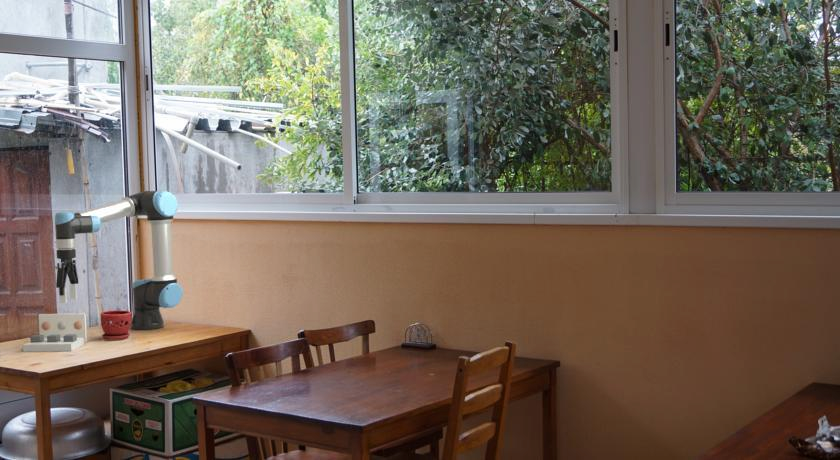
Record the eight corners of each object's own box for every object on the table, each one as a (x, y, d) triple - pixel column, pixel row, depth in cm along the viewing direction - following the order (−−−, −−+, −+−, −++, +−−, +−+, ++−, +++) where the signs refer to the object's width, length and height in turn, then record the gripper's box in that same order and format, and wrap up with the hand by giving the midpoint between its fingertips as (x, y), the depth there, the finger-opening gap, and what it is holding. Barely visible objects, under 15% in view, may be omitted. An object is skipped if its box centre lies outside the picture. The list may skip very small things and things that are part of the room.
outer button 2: (44, 341, 397) (43, 334, 397) (40, 343, 393) (39, 336, 393) (34, 341, 397) (34, 334, 397) (30, 343, 393) (30, 336, 393)
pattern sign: (88, 342, 408) (87, 312, 407) (84, 344, 403) (82, 314, 402) (42, 342, 408) (41, 313, 407) (38, 345, 403) (36, 315, 402)
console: (83, 344, 402) (83, 337, 402) (71, 351, 388) (70, 343, 388) (37, 345, 403) (37, 338, 402) (23, 351, 389) (23, 344, 388)
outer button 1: (76, 341, 397) (76, 334, 397) (73, 342, 393) (72, 335, 393) (67, 341, 397) (67, 334, 397) (63, 343, 393) (63, 336, 393)
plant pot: (108, 342, 406) (107, 315, 405) (96, 338, 416) (95, 312, 415) (137, 338, 414) (136, 311, 414) (124, 334, 424) (123, 308, 423)
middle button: (60, 341, 397) (60, 334, 397) (56, 343, 393) (56, 336, 393) (51, 341, 397) (50, 334, 397) (47, 343, 393) (46, 336, 393)
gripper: (67, 246, 404) (70, 297, 405) (45, 251, 381) (48, 305, 383) (85, 246, 404) (87, 297, 405) (64, 251, 381) (66, 305, 382)
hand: (68, 301), depth 394 cm, fingers open, 10 cm apart
